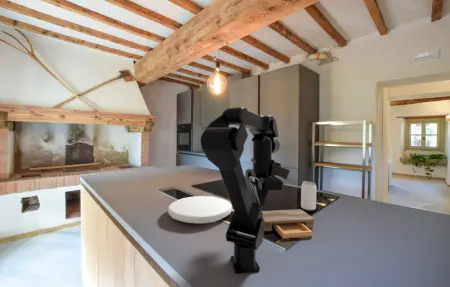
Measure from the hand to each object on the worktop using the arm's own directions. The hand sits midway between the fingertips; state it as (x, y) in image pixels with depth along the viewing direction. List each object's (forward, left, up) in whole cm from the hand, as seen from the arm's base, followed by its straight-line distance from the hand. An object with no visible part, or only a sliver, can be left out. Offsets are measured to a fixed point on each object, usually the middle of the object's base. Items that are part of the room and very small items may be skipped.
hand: (261, 205), depth 65 cm
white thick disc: (+26, +18, -12) cm, 34 cm away
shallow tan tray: (+8, -13, -12) cm, 19 cm away
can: (+26, -32, -12) cm, 43 cm away
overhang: (+12, -13, -12) cm, 21 cm away
